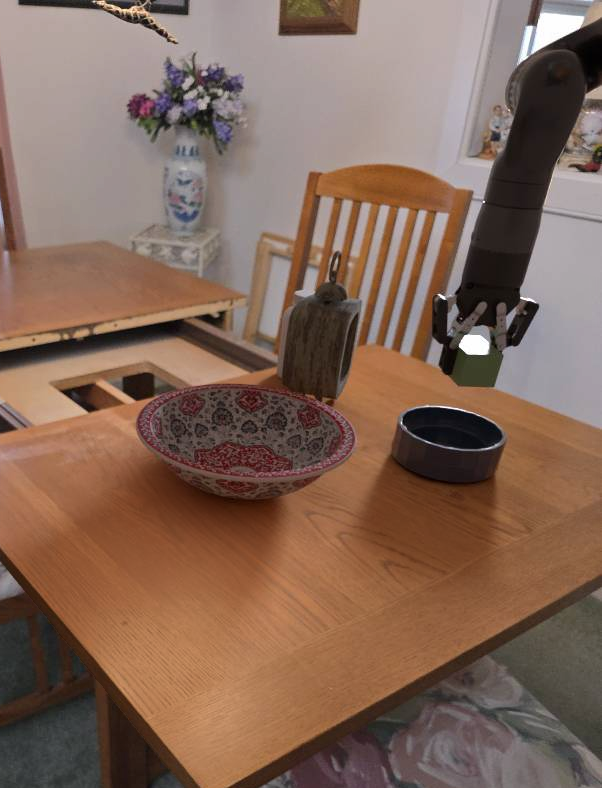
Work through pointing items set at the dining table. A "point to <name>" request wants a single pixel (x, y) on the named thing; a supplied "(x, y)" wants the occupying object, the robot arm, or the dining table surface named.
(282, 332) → the pill bottle
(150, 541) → the dining table surface
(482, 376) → the block
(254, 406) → the ceramic bowl
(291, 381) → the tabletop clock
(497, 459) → the bowl
